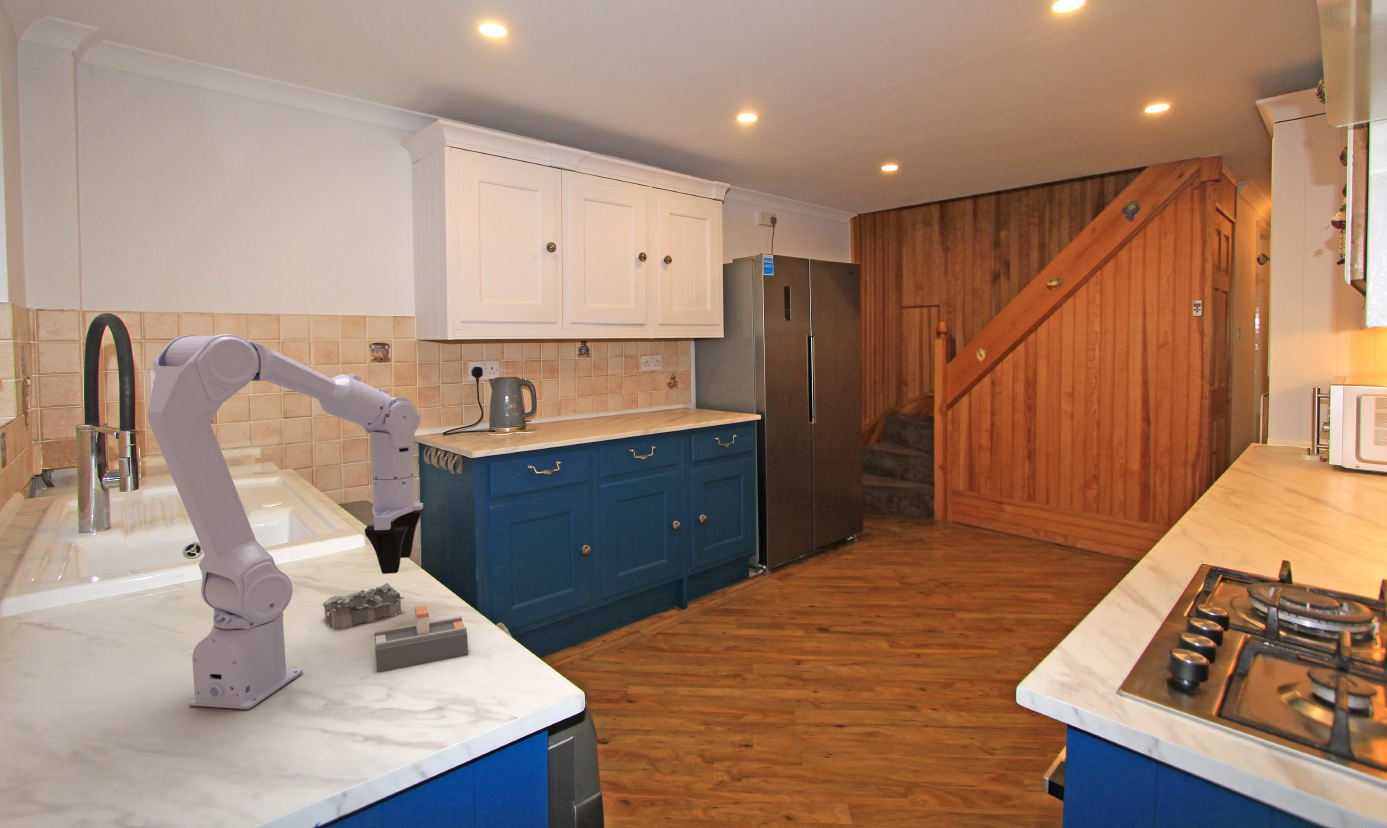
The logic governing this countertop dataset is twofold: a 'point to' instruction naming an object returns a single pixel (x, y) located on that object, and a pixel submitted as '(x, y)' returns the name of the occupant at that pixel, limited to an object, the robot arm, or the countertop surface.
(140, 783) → the countertop surface
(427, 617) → the breaker handle
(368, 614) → the egg carton
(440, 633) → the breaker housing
